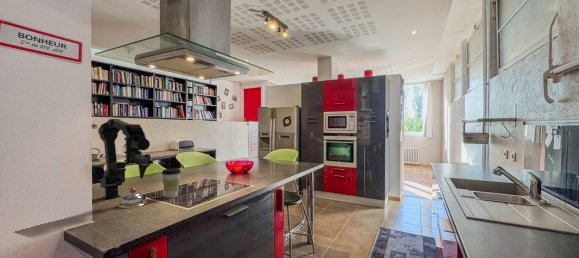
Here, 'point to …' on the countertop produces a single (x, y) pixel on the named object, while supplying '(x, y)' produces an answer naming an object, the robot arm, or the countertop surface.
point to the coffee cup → (171, 182)
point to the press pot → (133, 201)
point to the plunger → (133, 193)
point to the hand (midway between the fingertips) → (132, 180)
